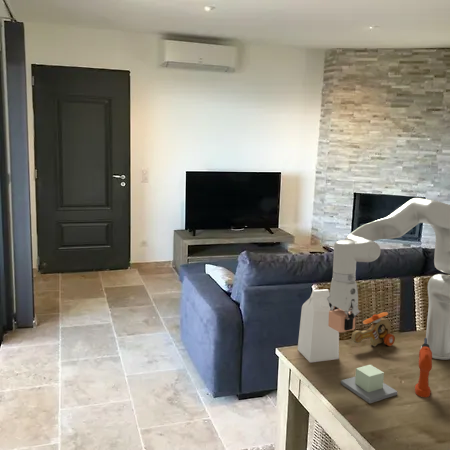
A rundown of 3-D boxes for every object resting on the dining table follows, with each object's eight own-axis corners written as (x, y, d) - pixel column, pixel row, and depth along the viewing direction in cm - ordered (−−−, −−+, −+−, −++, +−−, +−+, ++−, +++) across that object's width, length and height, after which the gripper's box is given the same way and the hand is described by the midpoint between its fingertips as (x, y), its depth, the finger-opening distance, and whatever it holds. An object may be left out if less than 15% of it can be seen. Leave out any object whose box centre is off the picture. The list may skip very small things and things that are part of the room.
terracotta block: (342, 322, 178) (343, 307, 177) (354, 329, 172) (355, 313, 171) (328, 326, 175) (328, 311, 174) (340, 332, 170) (340, 317, 168)
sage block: (369, 379, 172) (370, 364, 171) (382, 388, 166) (384, 372, 165) (355, 383, 169) (356, 368, 168) (368, 392, 164) (369, 376, 162)
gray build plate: (367, 376, 177) (367, 372, 177) (397, 394, 165) (397, 391, 164) (340, 383, 171) (341, 380, 171) (369, 403, 159) (369, 400, 159)
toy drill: (430, 369, 179) (433, 332, 175) (430, 401, 163) (434, 361, 158) (415, 366, 181) (419, 330, 176) (414, 398, 164) (418, 358, 160)
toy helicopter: (396, 344, 203) (399, 312, 200) (360, 356, 192) (362, 322, 190) (380, 337, 210) (383, 306, 207) (344, 348, 199) (346, 315, 197)
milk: (324, 346, 201) (328, 284, 196) (338, 358, 190) (342, 293, 185) (297, 349, 198) (299, 286, 193) (310, 362, 187) (313, 296, 182)
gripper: (370, 281, 164) (367, 332, 168) (336, 268, 179) (334, 315, 183) (352, 285, 161) (349, 337, 164) (319, 271, 176) (317, 319, 180)
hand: (341, 325), depth 174 cm, fingers closed on terracotta block, 6 cm apart
